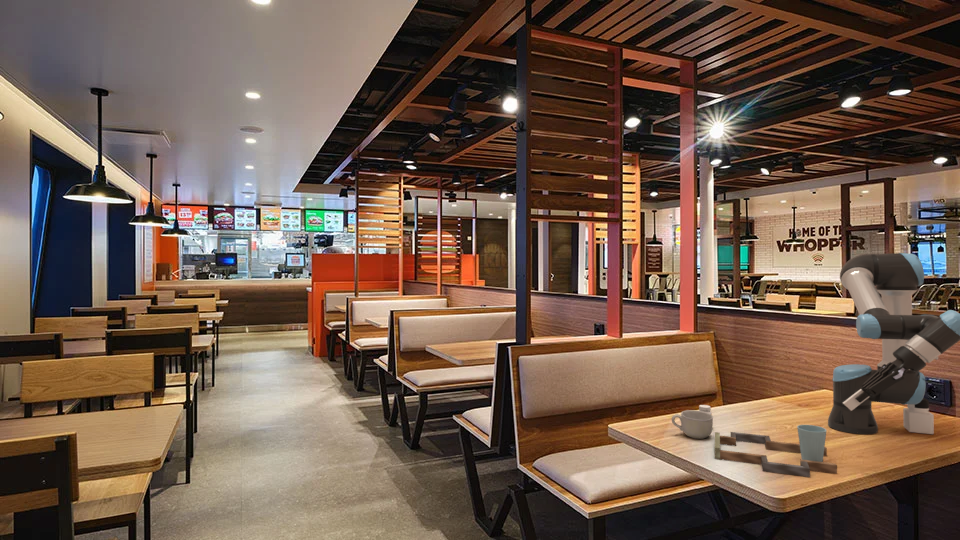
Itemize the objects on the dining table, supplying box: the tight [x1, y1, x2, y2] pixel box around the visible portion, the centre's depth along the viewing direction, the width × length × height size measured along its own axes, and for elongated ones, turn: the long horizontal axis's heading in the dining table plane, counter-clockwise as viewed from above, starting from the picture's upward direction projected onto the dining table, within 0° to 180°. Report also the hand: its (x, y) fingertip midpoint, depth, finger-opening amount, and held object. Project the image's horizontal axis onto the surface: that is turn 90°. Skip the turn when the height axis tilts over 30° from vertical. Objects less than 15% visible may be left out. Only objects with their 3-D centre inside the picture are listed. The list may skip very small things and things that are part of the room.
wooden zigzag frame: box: [714, 431, 838, 478], centre depth 168 cm, size 32×28×4 cm
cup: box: [796, 424, 827, 462], centre depth 163 cm, size 8×8×10 cm
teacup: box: [671, 409, 714, 440], centre depth 189 cm, size 14×11×8 cm
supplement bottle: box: [698, 404, 713, 416], centre depth 198 cm, size 5×5×8 cm
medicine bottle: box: [902, 397, 935, 435], centre depth 191 cm, size 7×7×12 cm
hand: (846, 406), depth 158 cm, fingers closed
